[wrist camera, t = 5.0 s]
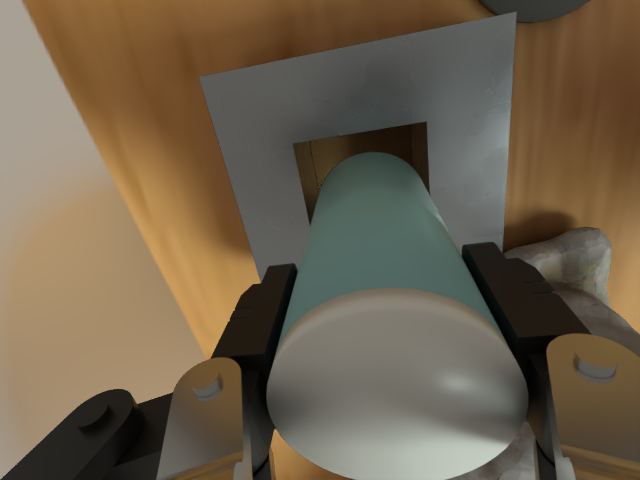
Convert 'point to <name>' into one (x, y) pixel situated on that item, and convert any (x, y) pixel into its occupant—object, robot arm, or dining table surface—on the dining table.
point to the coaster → (533, 8)
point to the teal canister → (390, 339)
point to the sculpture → (587, 304)
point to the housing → (371, 127)
